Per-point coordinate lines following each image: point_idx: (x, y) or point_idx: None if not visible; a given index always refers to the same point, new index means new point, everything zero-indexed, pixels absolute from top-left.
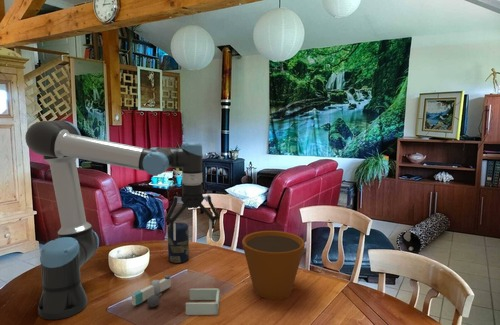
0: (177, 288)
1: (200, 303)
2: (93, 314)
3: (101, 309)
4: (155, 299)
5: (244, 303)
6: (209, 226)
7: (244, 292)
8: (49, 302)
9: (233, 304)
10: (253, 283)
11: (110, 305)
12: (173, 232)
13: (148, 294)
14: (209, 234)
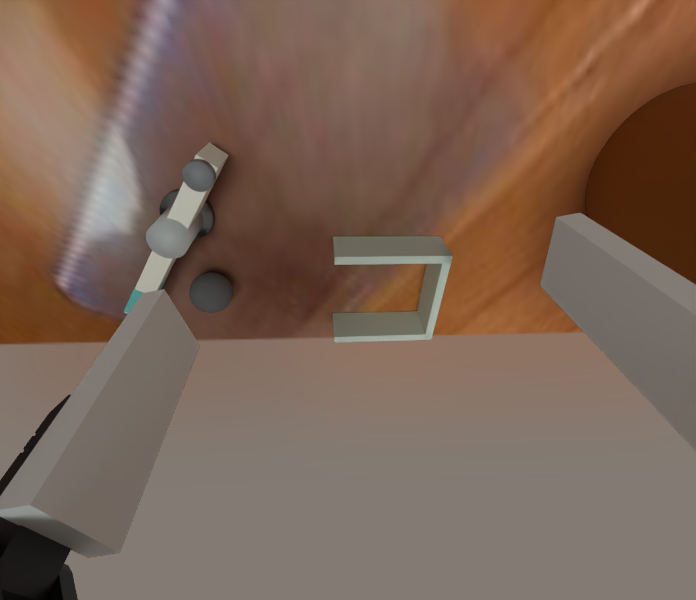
0: (261, 147)
1: (379, 339)
2: (47, 320)
3: (47, 297)
4: (222, 308)
5: (515, 263)
6: (644, 333)
7: (544, 190)
8: None
9: (478, 268)
10: (602, 215)
11: (57, 275)
12: (114, 347)
13: (172, 263)
14: (564, 261)
